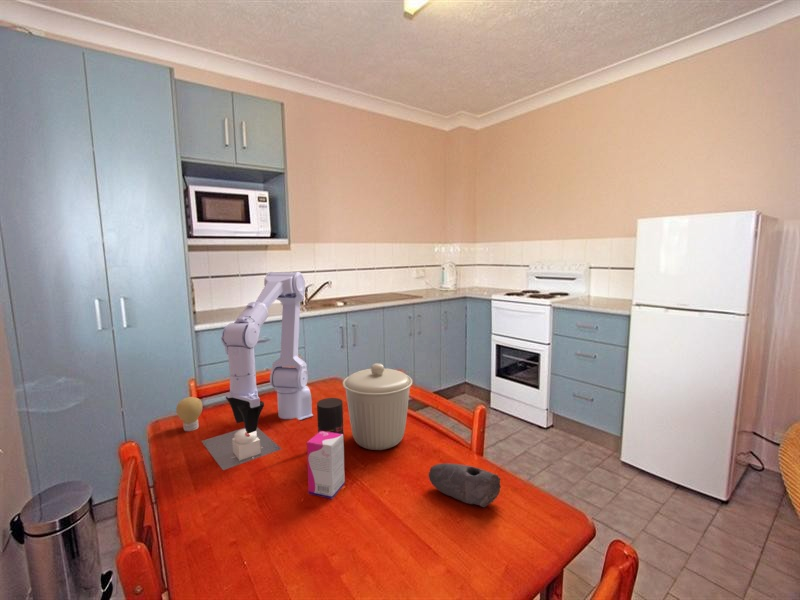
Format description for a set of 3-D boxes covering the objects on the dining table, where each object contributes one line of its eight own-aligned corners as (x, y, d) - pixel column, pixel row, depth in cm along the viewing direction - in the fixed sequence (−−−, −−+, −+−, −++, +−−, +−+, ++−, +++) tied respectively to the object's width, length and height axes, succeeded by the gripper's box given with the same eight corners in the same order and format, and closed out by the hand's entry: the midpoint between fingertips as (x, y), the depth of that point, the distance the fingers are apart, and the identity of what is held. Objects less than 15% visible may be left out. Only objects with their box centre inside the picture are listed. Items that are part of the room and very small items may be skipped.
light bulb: (209, 427, 111) (206, 393, 110) (195, 438, 105) (192, 402, 104) (188, 426, 112) (185, 393, 110) (173, 437, 105) (170, 402, 104)
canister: (401, 421, 114) (401, 352, 111) (421, 452, 97) (421, 371, 94) (340, 429, 109) (338, 357, 106) (349, 463, 92) (347, 378, 89)
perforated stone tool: (423, 492, 81) (423, 461, 80) (434, 479, 85) (434, 450, 84) (492, 518, 73) (493, 484, 72) (501, 503, 77) (502, 470, 76)
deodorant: (349, 459, 94) (347, 400, 92) (334, 472, 88) (333, 409, 86) (328, 454, 96) (326, 396, 94) (313, 466, 91) (311, 405, 89)
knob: (233, 452, 95) (231, 431, 94) (253, 445, 98) (252, 425, 97) (239, 460, 91) (238, 439, 91) (260, 453, 94) (259, 432, 94)
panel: (254, 428, 110) (253, 414, 109) (282, 453, 97) (281, 436, 96) (201, 445, 101) (200, 429, 100) (223, 475, 87) (222, 456, 87)
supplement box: (345, 483, 84) (344, 433, 83) (332, 499, 79) (330, 446, 77) (322, 478, 86) (320, 429, 85) (307, 494, 80) (305, 442, 79)
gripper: (215, 369, 95) (219, 421, 97) (235, 384, 84) (239, 443, 86) (244, 363, 100) (247, 413, 101) (267, 377, 89) (270, 433, 91)
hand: (246, 426), depth 94 cm, fingers open, 6 cm apart
